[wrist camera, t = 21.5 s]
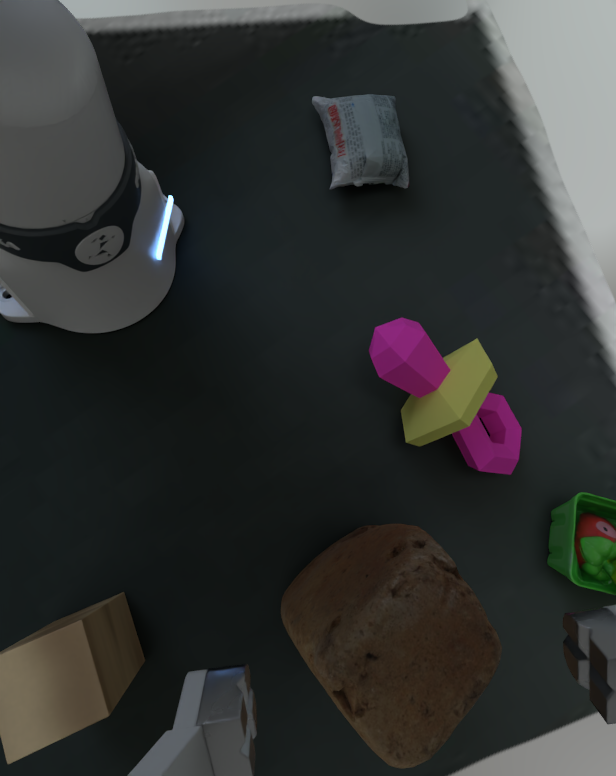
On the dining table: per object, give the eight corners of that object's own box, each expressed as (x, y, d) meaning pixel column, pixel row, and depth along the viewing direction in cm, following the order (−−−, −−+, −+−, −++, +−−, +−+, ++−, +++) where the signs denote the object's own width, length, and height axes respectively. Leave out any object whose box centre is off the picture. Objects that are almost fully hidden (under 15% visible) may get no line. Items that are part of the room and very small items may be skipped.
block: (327, 670, 40) (410, 815, 20) (266, 599, 40) (291, 673, 21) (415, 573, 42) (561, 619, 23) (357, 508, 43) (451, 501, 24)
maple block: (73, 694, 37) (7, 765, 26) (53, 621, 38) (-18, 662, 27) (145, 660, 38) (109, 716, 27) (124, 591, 39) (81, 619, 28)
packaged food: (325, 203, 51) (335, 171, 46) (309, 111, 54) (316, 71, 49) (403, 201, 52) (420, 169, 48) (383, 111, 55) (397, 73, 51)
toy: (460, 511, 45) (565, 484, 38) (318, 392, 41) (405, 335, 33) (474, 432, 52) (567, 395, 44) (353, 322, 47) (433, 260, 40)
